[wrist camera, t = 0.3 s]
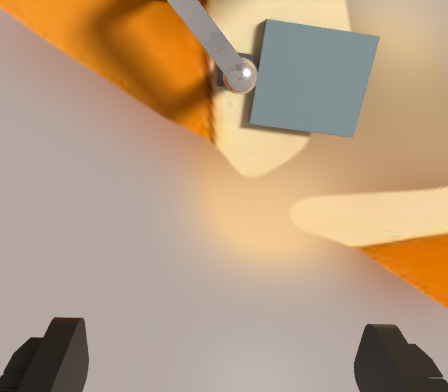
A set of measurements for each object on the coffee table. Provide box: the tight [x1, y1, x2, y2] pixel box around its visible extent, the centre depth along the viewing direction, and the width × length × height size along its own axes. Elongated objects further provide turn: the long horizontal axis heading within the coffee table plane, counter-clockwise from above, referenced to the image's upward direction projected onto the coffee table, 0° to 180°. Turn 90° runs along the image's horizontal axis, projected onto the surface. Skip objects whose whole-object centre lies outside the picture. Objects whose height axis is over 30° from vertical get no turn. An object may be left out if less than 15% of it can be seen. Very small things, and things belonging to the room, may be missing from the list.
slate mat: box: [249, 19, 380, 138], centre depth 35 cm, size 9×10×1 cm
